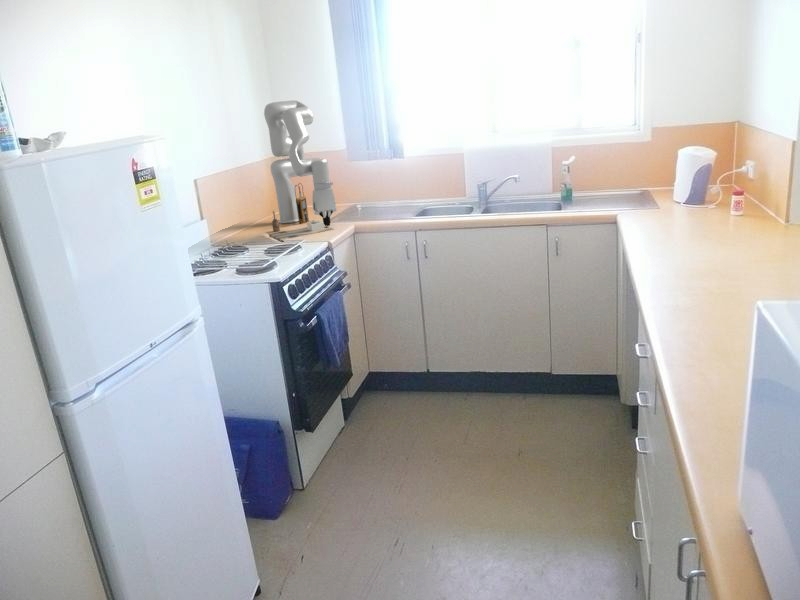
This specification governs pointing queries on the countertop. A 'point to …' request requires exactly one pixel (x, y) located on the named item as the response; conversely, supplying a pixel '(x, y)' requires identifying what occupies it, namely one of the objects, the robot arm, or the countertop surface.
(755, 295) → the countertop surface
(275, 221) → the awl
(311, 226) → the thermostat
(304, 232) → the subfloor panel
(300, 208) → the multimeter
